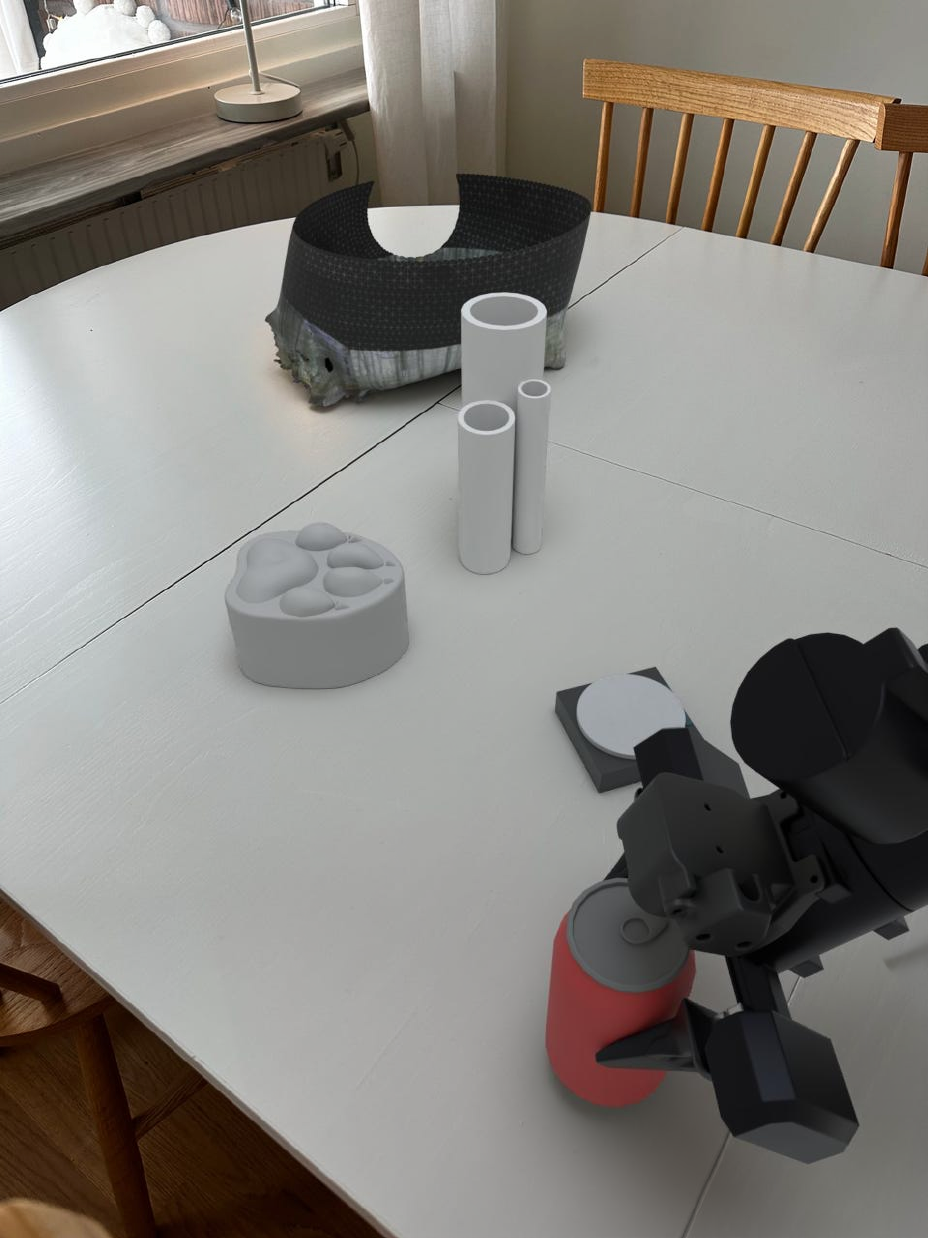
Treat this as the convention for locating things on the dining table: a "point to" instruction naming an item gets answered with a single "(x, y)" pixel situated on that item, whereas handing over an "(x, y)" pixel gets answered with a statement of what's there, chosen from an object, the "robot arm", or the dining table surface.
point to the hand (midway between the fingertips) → (589, 989)
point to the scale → (618, 722)
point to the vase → (502, 429)
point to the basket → (418, 284)
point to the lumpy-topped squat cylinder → (316, 608)
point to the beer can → (612, 989)
